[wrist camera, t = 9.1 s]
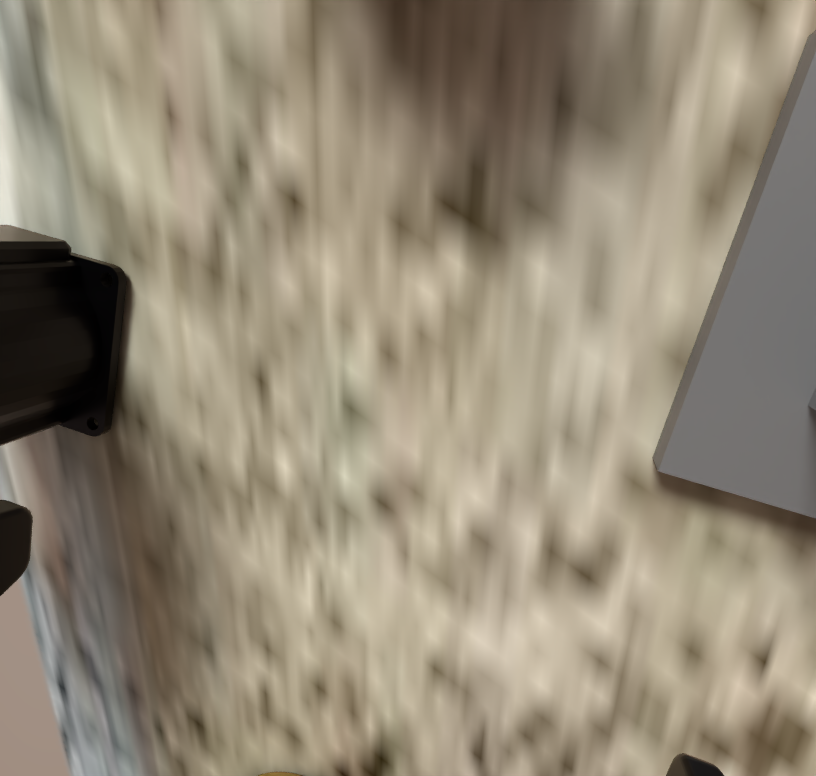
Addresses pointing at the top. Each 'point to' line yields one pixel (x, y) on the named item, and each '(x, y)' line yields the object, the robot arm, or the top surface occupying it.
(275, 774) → the paper tube
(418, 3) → the top surface
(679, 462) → the stand base
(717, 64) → the top surface
